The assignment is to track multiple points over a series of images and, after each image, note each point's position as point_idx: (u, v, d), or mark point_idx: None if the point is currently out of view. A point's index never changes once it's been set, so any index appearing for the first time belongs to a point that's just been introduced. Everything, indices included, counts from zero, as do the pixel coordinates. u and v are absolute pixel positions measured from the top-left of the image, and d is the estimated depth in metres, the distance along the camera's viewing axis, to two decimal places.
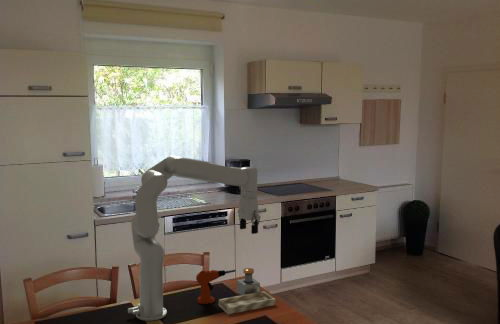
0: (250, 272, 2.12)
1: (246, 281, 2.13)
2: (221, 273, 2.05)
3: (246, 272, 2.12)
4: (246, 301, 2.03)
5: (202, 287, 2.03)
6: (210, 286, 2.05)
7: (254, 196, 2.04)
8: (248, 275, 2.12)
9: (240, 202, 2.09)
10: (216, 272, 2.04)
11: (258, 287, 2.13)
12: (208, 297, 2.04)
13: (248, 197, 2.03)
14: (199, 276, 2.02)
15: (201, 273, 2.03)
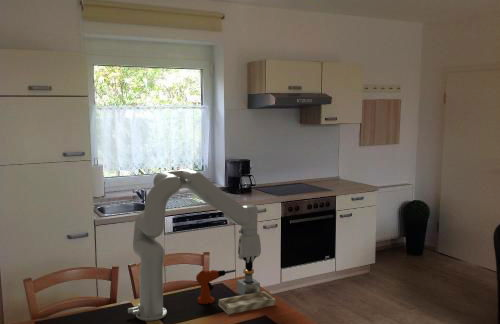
0: (250, 272, 2.12)
1: (246, 281, 2.13)
2: (221, 273, 2.05)
3: (246, 272, 2.12)
4: (246, 301, 2.03)
5: (202, 287, 2.03)
6: (210, 286, 2.05)
7: None
8: (248, 275, 2.12)
9: (245, 242, 2.09)
10: (216, 272, 2.04)
11: (258, 287, 2.13)
12: (208, 297, 2.04)
13: None
14: (199, 276, 2.02)
15: (201, 273, 2.03)
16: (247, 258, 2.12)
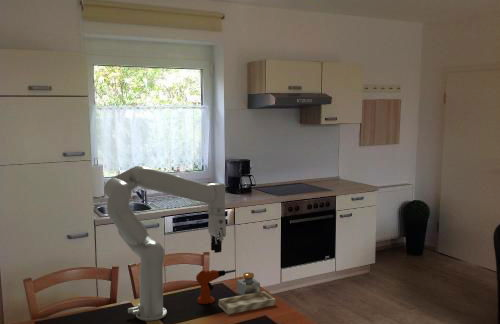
0: (250, 277, 2.12)
1: None
2: (221, 273, 2.05)
3: (246, 277, 2.12)
4: (246, 301, 2.03)
5: (202, 287, 2.03)
6: (210, 286, 2.05)
7: None
8: (248, 280, 2.13)
9: None
10: (216, 272, 2.04)
11: (258, 287, 2.13)
12: (208, 297, 2.04)
13: None
14: (199, 276, 2.02)
15: (201, 273, 2.03)
16: None
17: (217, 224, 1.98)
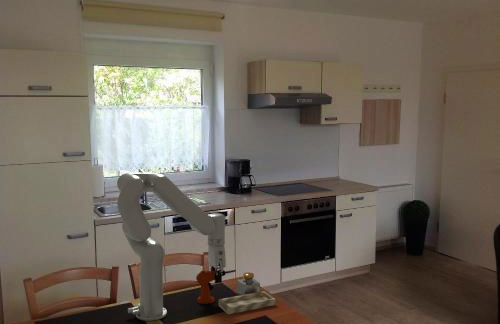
0: (250, 277, 2.12)
1: None
2: None
3: (246, 277, 2.12)
4: (246, 301, 2.03)
5: (202, 287, 2.03)
6: (210, 286, 2.05)
7: None
8: (248, 280, 2.13)
9: None
10: None
11: (258, 287, 2.13)
12: (208, 297, 2.04)
13: None
14: (199, 276, 2.02)
15: (201, 273, 2.02)
16: None
17: (217, 255, 1.99)
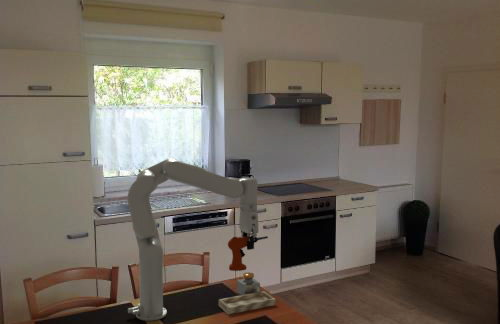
0: (250, 277, 2.12)
1: None
2: None
3: (246, 277, 2.12)
4: (246, 301, 2.03)
5: (234, 254, 1.97)
6: (242, 253, 1.99)
7: None
8: (248, 280, 2.13)
9: None
10: None
11: (258, 287, 2.13)
12: (240, 264, 1.98)
13: None
14: (231, 242, 1.95)
15: (233, 239, 1.96)
16: None
17: (250, 220, 1.93)
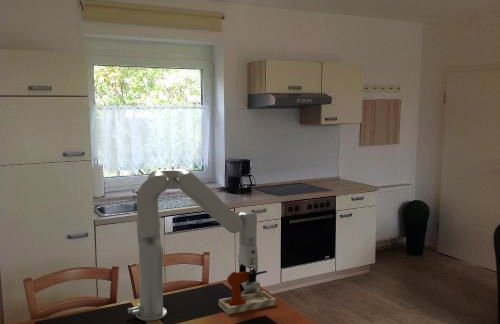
0: None
1: None
2: None
3: None
4: (246, 301, 2.03)
5: (233, 289, 1.98)
6: (241, 288, 2.00)
7: None
8: (248, 280, 2.13)
9: None
10: (248, 273, 1.99)
11: (258, 287, 2.13)
12: (240, 299, 1.99)
13: None
14: (231, 278, 1.97)
15: (233, 275, 1.98)
16: None
17: (249, 254, 1.95)
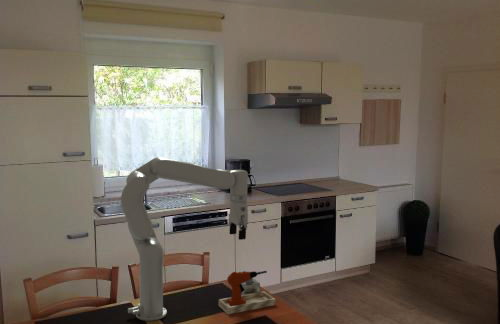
0: None
1: None
2: (253, 274, 2.00)
3: None
4: (246, 301, 2.03)
5: (233, 289, 1.98)
6: (241, 288, 2.00)
7: None
8: (248, 280, 2.13)
9: None
10: (248, 273, 1.99)
11: (258, 287, 2.13)
12: (240, 299, 1.99)
13: None
14: (231, 278, 1.97)
15: (233, 275, 1.98)
16: None
17: (239, 211, 1.95)
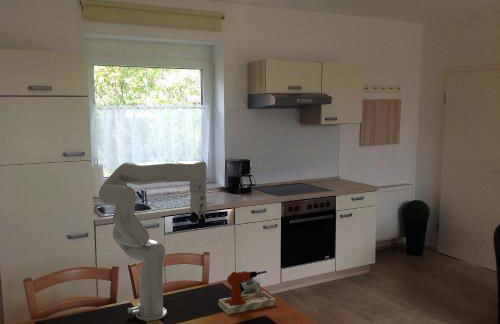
0: None
1: None
2: (253, 274, 2.00)
3: None
4: (246, 301, 2.03)
5: (233, 289, 1.98)
6: (241, 288, 2.00)
7: None
8: (248, 280, 2.13)
9: None
10: (248, 273, 1.99)
11: (258, 287, 2.13)
12: (240, 299, 1.99)
13: None
14: (231, 278, 1.97)
15: (233, 275, 1.98)
16: None
17: (198, 200, 2.04)
